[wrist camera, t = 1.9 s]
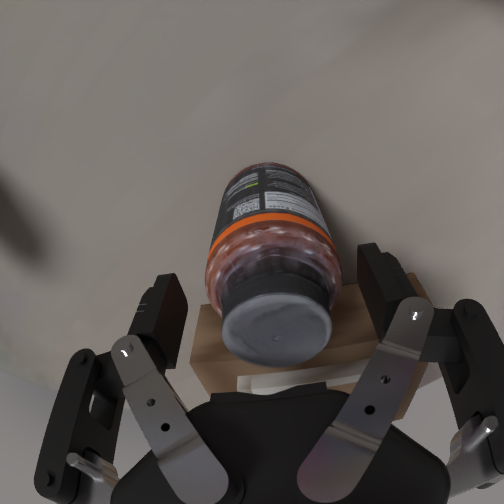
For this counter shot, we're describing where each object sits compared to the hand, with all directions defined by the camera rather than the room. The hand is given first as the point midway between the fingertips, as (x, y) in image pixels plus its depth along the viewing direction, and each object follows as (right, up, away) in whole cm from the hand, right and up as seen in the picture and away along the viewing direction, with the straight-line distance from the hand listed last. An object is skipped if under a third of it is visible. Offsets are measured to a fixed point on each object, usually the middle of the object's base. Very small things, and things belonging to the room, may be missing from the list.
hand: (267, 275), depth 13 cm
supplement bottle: (0, +4, +7) cm, 8 cm away
